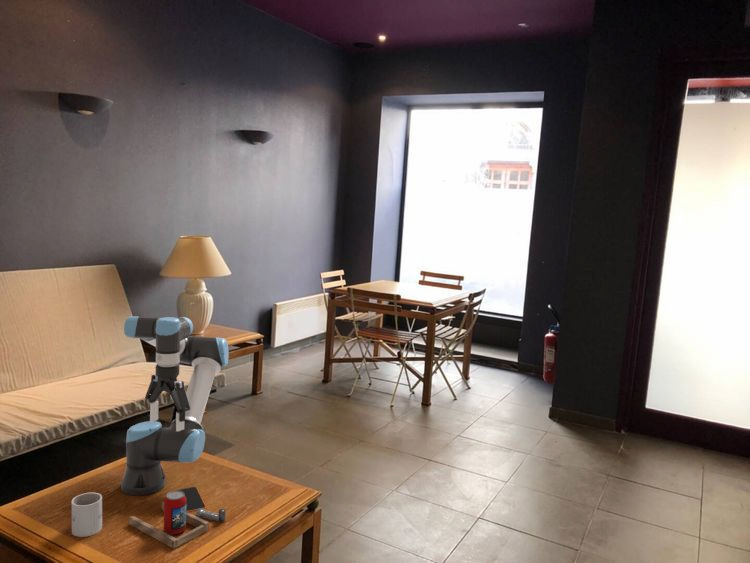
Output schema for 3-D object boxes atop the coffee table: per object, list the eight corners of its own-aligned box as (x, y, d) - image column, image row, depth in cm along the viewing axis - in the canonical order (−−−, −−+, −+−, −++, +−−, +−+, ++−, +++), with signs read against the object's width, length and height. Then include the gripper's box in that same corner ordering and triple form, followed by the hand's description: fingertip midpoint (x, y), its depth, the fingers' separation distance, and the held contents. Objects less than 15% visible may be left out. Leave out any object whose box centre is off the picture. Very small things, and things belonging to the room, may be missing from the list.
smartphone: (184, 514, 197) (184, 511, 197) (175, 492, 211) (175, 490, 211) (207, 509, 201) (207, 506, 201) (196, 488, 215) (196, 486, 215)
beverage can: (179, 537, 182) (179, 501, 181) (159, 534, 184) (159, 498, 182) (190, 526, 189) (190, 491, 187) (171, 523, 190) (171, 488, 189)
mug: (97, 536, 181) (97, 505, 180) (67, 537, 179) (67, 506, 178) (108, 515, 193) (108, 486, 192) (80, 516, 191) (80, 487, 190)
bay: (129, 524, 188) (129, 517, 188) (164, 508, 199) (164, 501, 199) (173, 548, 176) (174, 540, 176) (208, 529, 187) (208, 522, 187)
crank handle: (194, 516, 195) (194, 506, 195) (199, 512, 198) (199, 502, 197) (222, 523, 192) (222, 512, 191) (227, 519, 194) (227, 509, 194)
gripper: (134, 359, 199) (134, 419, 201) (183, 373, 185) (182, 437, 188) (153, 355, 205) (153, 413, 207) (201, 368, 191) (200, 431, 194)
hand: (166, 425), depth 198 cm, fingers open, 13 cm apart
